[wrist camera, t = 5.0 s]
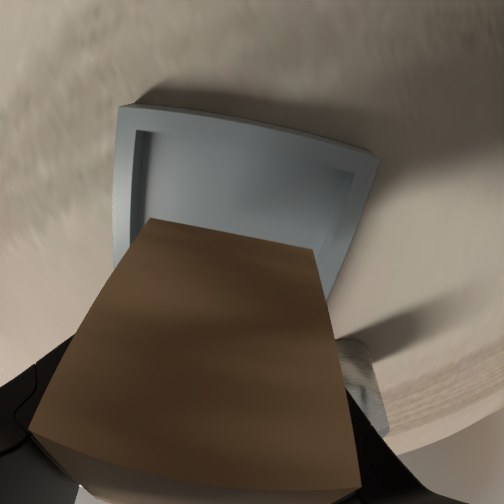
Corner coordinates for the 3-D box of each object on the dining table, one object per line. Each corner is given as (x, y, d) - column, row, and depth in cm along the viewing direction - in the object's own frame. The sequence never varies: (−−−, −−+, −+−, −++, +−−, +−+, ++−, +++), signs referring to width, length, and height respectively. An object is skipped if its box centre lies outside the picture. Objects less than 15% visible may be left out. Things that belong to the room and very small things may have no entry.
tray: (368, 150, 14) (380, 159, 13) (272, 390, 25) (273, 407, 23) (133, 103, 13) (118, 106, 12) (132, 364, 23) (126, 380, 22)
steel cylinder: (377, 341, 21) (402, 419, 15) (353, 377, 24) (368, 450, 18) (322, 335, 21) (337, 421, 15) (301, 373, 23) (309, 451, 17)
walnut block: (312, 249, 9) (361, 486, 3) (272, 355, 12) (273, 528, 6) (150, 217, 9) (27, 429, 3) (148, 332, 12) (96, 498, 6)
